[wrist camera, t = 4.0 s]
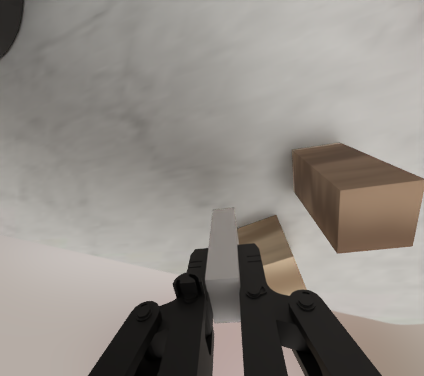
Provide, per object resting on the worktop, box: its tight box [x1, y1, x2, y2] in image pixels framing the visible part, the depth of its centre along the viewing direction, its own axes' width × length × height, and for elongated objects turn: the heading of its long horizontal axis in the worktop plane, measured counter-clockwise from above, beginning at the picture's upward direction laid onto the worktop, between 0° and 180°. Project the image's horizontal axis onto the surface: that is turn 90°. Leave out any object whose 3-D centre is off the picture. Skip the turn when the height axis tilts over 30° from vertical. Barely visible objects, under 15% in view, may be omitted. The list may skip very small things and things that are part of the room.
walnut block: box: [292, 143, 424, 253], centre depth 18 cm, size 4×4×10 cm
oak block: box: [237, 215, 307, 296], centre depth 23 cm, size 5×5×7 cm
